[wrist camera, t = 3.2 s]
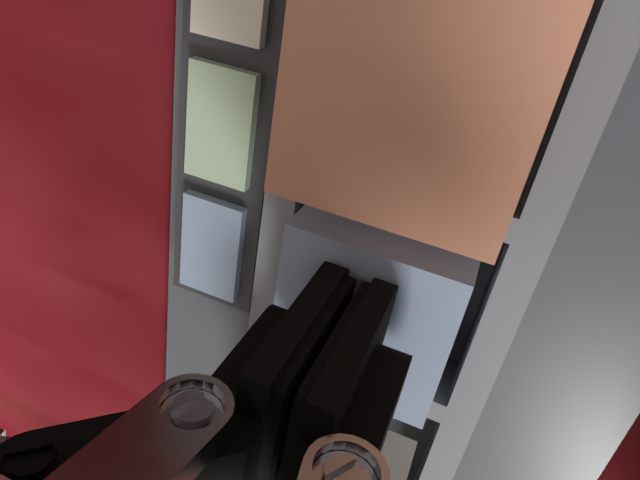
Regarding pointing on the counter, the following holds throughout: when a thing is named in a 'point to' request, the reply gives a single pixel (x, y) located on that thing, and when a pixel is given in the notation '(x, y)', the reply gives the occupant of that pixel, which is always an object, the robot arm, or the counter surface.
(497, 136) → the terracotta key
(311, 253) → the slate key
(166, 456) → the robot arm
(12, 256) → the counter surface
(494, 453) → the keypad board
